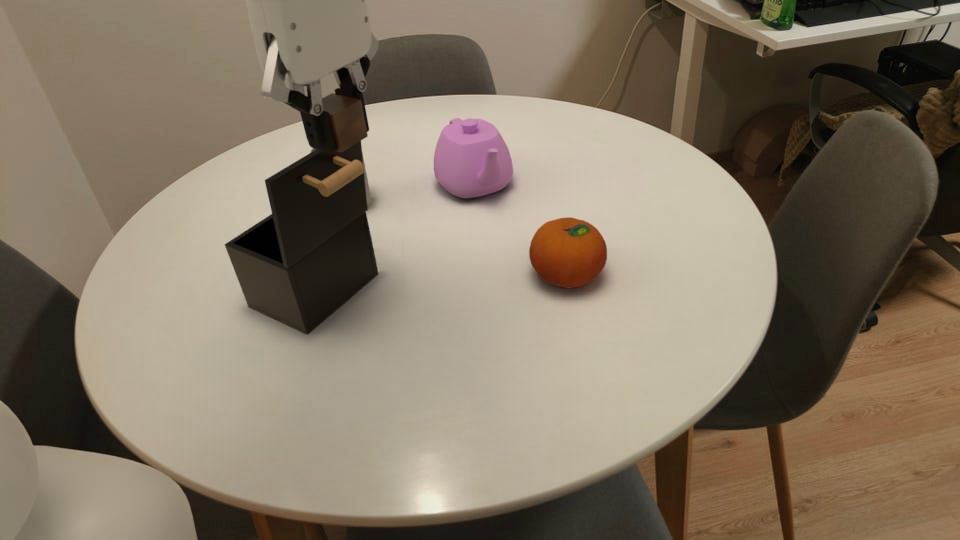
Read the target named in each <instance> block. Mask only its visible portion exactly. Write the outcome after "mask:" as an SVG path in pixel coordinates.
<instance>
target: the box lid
mask: <svg viewBox="0 0 960 540" xmlns="http://www.w3.org/2000/svg"><path fill="white" fill-rule="evenodd" d="M362 147H363V146H362V140H361V141H359V142H358V143H356V144H355V145H353V146H351V147H350V148H348V149H346V150H345V151H343V152H337V151H335V152H333V153H328V152H324V151H321V150H318V149H316V150H314V151H313V152H311V151H310V152H311V153H310V152H309V153H307V154H306V155H305V156H303V157H301V158H299V159H298V160H295V162H292V163H290V165H287V166H286V167H284V168H283V169H281V170H279V171H278V172H276V173H274V174H273V175H271V176H269V177H267V178H266V179H264V183H265V189H266V193H267V197H268V201H269V207H270V211H271V214H272V215H273V220H274V224H275V229H276V233H277V238H278V242H279V247H280V251H281V256H282V260H283V265H284V267H286V268H288V269H289V268H290V267H291V266H293V265H294V264H296V263H297V262H298V261H300V260H301V259H302V258H304V257H305V256H306V255H308V254H309V253H310V252H312V251H313V250H314V249H316V248H317V247H319V246H320V245H321V244H323V243H324V242H325V241H327V240H328V239H329V238H331V237H332V236H333V235H335V234H336V233H337V232H339V231H340V230H342V229H343V228H344V227H346V226H347V225H348V224H350V223H351V222H352V221H354V220H355V219H356V218H358V217H359V216H360V215H362V214H363V213H365V212H366V213H367V211H368V210H369V209H368V207H367V198H366V188H365V178H364V166H363V158H364V156H363V157H362V153H363V148H362Z"/></svg>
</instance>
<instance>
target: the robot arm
mask: <svg viewBox="0 0 960 540" xmlns="http://www.w3.org/2000/svg"><path fill="white" fill-rule="evenodd" d="M245 3H246V8H247V15H248V20H249V25H250V30H251V34H252V35H251V36H252V40H253V44H254V48H255V52H256V56H257V60H258V63H259V66H260V69H261V72H262V74H263V77H262V82H261V83H262V84H261V88H260V94H261V96H262V97H263V98H266V99H270V100H273V101H276V102H277V101H278V102H281V103H283V104H286V105H287V106H289V107H291V108H292V109H293V110H294V111H296V112H299V114H300V117H301V121H302V125H303V129H304V133H305V137H306V140H307V143H308V145H309V147H310V148H311V149H313V148H314V149H318V150H321V151H324V152H328V153H333V152H335V151H336V150H337V146H336V142H335V137H334V133H333V128H332V124H331V119H330V115H329V112H326V111H323V104H322V98H323V95H322V94H323V93H322V84H321V79H322V78H325V77H327V76H328V75H331V74H333V76H334V79H335V81H336V84H337V86H338V87H337V88H335V89H334V94H338V95H342V96H346V97H351V98H355V99H359V100H361V103H362V108H363V113H364V119H365V124H366V129H367V133H368V132H369V131H370V125H369V119H368V114H367V109H366V104H365V98H364V93H363V92H365V91H366V90H367V86H368V85H367V84H368V83H367V80H366V77H367V74H368V72H369V70H370V67H371V62H372V60H373V58H374V57H375V54H376V53H377V51H378V50H379V47H380V43H379V41H378V40H377V38H376V37H375V35H374V33H373V32H372V29H371V21H370V16H369V12H368V11H369V10H368V7H367V6H368V5H367V1H366V0H245ZM286 75H287V77H288V85H289V86H288V87H289V88H288V87H286V85H285V80H286ZM305 87H306V94H305ZM190 505H191V504H190V501H189V500H188V497H187V494H185V492H184V491H183V489H182V487H181V486H180V484H178V482H176V481H175V480H174V479H173V478H172V477H170V476H169V475H167V474H166V473H164V472H162V471H161V470H159V469H156V468H154V467H152V466H149V465H147V464H144V463H141V462H138V461H136V460H132V459H129V458H123V457H120V456H115V455H110V454H105V453H99V452H93V451H86V450H79V449H71V448H64V447H57V446H51V445H34V444H33V442H32V439H31V437H30V435H29V433H28V431H27V429H26V428H25V425H24V424H23V423H22V422H21V420H20V419H19V418H18V416H17V415H16V414H15V413H14V412H13V411H12V409H11V408H10V407H9V406H8V405H7V404H6V403H4V402H3V400H1V399H0V540H199V539H198V536H197V531H196V526H195V520H194V516H193V513H192V509H191V506H190Z"/></svg>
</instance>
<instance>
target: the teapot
mask: <svg viewBox="0 0 960 540" xmlns="http://www.w3.org/2000/svg"><path fill="white" fill-rule="evenodd" d="M434 148H435V149H434V152H433V153H434V154H433V173H434V176H435V178H436V181H437V182H438V183H439V184H440V185H441V187H443V188H444V189H445V190H446V191H447V192H448V193H449V194H451V195H453V196H455V197H458V198H461V199H462V198H463V199H473V198H480V197H483V196H488V195H491V194H494V193H497V192H500V191H501V190H503V189H505V188H506V187H507V186H508V184H509V183H510V182H511V180H512V178H513V176H514V166H513V160H512V156H511V153H510V150H509V148H508V145H507V144H506V141H505V140H504V138H503V136H502V135H501V133H500V131H499V130H498V129H497V127H496V126H495V124H492V123H491V122H489V121H487V120H485V119H482V118H472V117H471V118H469V117H468V118H465V119H461V118H459V117H454V118H452V119H450V120H449V124H447V125H445V126H444V127H443V128H442V130H441V132H440V134H439V137H438V140H437V142H436V146H435V147H434Z"/></svg>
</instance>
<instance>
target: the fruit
mask: <svg viewBox="0 0 960 540" xmlns="http://www.w3.org/2000/svg"><path fill="white" fill-rule="evenodd" d="M528 255H529V261H530V264H531V266H532V268H533V269H534V271H535V273H536V274H537V276H538V277H540V279H542V280H543V281H544V282H546V283H548V284H550V285H554V286H558V287H562V288H568V289H571V288H572V289H573V288H576V287H582V286H584V285H586V284H588V283H591V282H592V281H594V280H595V279H596V278H597V277H598V276H599V275H600V274H601V272H602V271H603V269H604V268H605V267H606V265H607V260H608V247H607V244H606V241H605V239H604V237H603V235H602V233H600V231H599V229H598V228H597V227H595V226H594V225H593V224H591V223H590V222H587V221H585V220H583V219H579V218H575V217H570V216H569V217H561V218H556V219H552V220H549V221H547V222H545V223H543V224H542V225H541V226H540V227H538V229H537V230H536V232H535V233H534V235H533V237H532V239H531V241H530V246H529V250H528Z"/></svg>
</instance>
